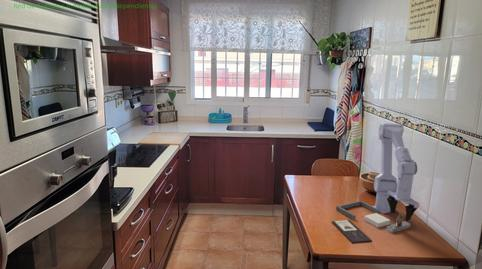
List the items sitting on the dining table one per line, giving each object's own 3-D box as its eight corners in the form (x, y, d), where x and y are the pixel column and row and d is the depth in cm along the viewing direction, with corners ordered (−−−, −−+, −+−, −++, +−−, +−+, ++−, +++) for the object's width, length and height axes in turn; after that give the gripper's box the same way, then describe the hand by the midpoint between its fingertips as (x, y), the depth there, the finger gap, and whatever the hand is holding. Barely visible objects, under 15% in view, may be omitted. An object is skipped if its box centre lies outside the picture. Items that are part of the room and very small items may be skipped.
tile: (375, 217, 159) (376, 212, 158) (389, 224, 152) (390, 219, 152) (363, 220, 155) (364, 215, 155) (377, 228, 148) (378, 223, 148)
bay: (360, 204, 173) (360, 200, 172) (378, 213, 163) (379, 209, 162) (336, 209, 165) (336, 206, 165) (353, 219, 155) (354, 215, 155)
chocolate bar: (352, 242, 135) (331, 221, 152) (351, 244, 135) (331, 223, 152) (371, 240, 136) (349, 220, 154) (371, 242, 137) (349, 221, 154)
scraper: (404, 224, 152) (406, 210, 151) (410, 227, 149) (412, 213, 148) (386, 230, 147) (388, 215, 145) (392, 233, 144) (394, 218, 143)
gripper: (384, 183, 148) (380, 211, 151) (413, 195, 136) (408, 225, 139) (394, 181, 151) (390, 208, 154) (424, 192, 139) (419, 222, 142)
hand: (400, 216), depth 147 cm, fingers open, 7 cm apart
